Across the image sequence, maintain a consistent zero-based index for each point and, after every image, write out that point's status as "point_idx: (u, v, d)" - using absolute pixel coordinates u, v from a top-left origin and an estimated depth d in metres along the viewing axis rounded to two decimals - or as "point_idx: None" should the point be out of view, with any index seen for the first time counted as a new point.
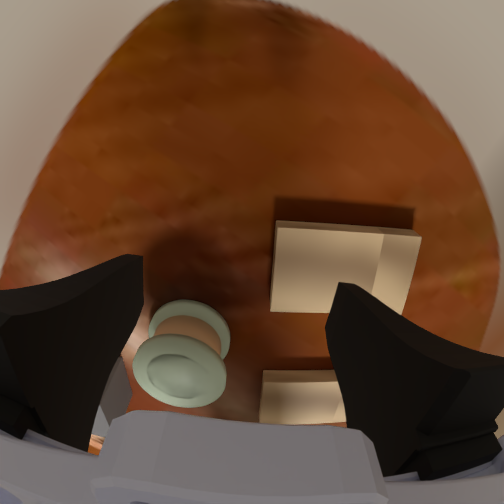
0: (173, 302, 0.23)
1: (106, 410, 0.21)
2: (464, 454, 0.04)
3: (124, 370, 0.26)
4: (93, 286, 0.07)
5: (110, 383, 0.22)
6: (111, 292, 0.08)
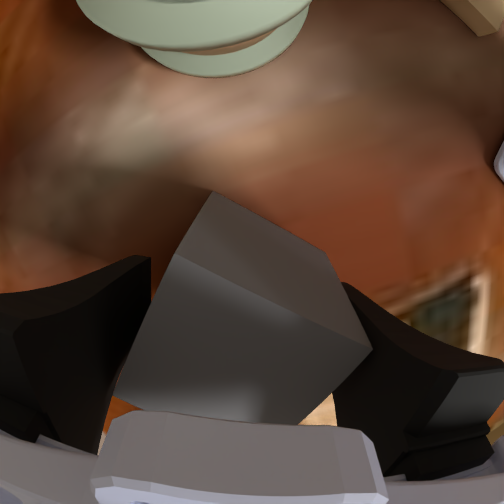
0: None
1: (237, 271, 0.07)
2: (454, 456, 0.04)
3: (246, 210, 0.12)
4: (103, 288, 0.07)
5: (197, 216, 0.08)
6: (121, 294, 0.08)
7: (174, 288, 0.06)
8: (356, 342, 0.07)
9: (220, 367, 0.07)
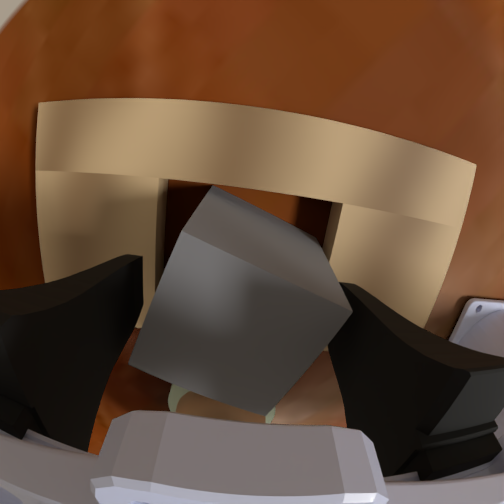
0: None
1: (233, 246, 0.08)
2: (465, 454, 0.04)
3: (243, 201, 0.13)
4: (93, 286, 0.07)
5: (200, 205, 0.10)
6: (111, 292, 0.08)
7: (181, 260, 0.08)
8: (337, 305, 0.08)
9: (221, 330, 0.09)
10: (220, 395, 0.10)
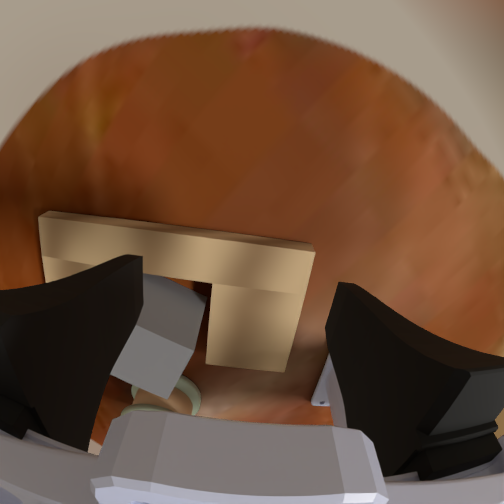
0: None
1: None
2: (464, 454, 0.04)
3: (160, 277, 0.21)
4: (93, 286, 0.07)
5: None
6: (111, 292, 0.08)
7: None
8: (185, 347, 0.17)
9: (135, 354, 0.17)
10: (142, 385, 0.18)
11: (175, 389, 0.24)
